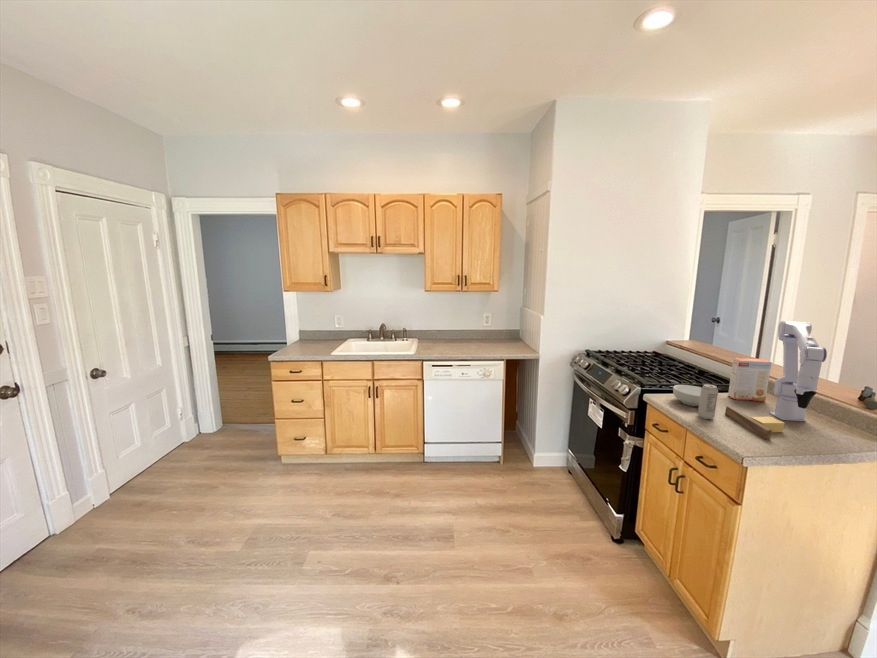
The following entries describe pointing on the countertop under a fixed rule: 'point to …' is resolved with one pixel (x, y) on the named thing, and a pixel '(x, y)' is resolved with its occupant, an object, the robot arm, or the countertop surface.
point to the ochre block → (770, 423)
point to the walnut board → (748, 422)
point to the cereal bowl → (687, 394)
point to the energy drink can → (708, 401)
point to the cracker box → (749, 379)
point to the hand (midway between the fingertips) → (802, 407)
